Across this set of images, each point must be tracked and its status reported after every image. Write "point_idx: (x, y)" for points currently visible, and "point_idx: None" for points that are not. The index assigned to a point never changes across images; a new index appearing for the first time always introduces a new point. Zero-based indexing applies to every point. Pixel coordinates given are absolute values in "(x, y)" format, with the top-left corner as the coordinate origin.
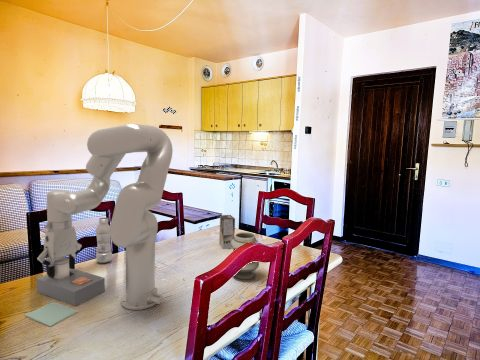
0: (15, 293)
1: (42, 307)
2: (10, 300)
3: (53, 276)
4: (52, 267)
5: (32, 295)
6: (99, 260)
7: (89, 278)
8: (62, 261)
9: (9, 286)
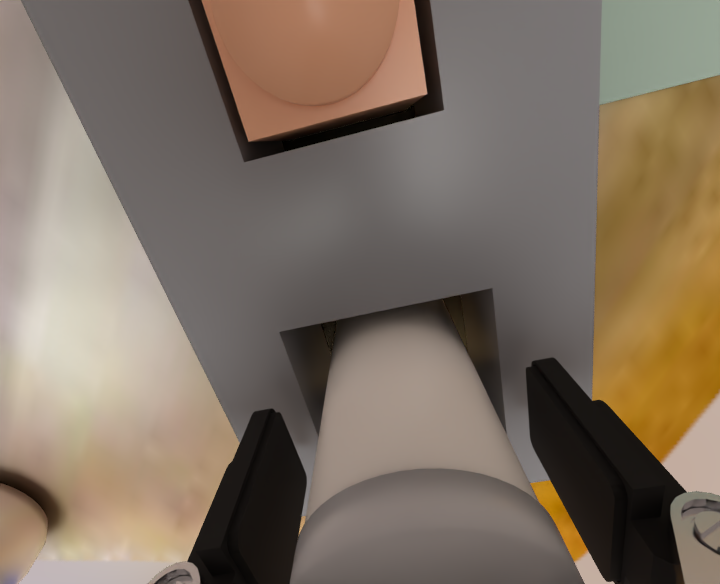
0: None
1: (701, 63)
2: (693, 383)
3: (549, 359)
4: (649, 471)
5: None
6: (22, 519)
7: (175, 36)
8: (474, 544)
9: (576, 536)
